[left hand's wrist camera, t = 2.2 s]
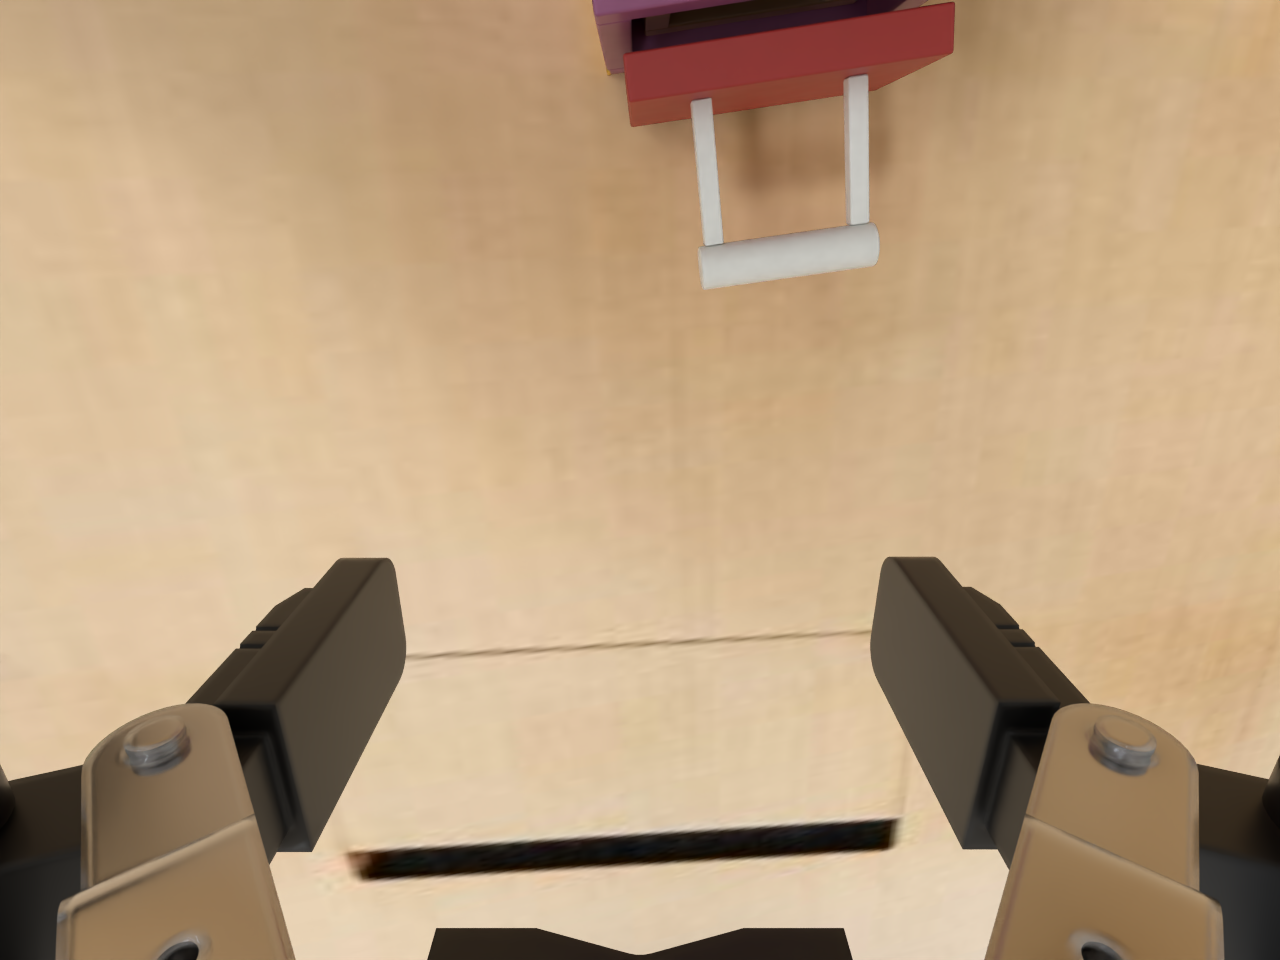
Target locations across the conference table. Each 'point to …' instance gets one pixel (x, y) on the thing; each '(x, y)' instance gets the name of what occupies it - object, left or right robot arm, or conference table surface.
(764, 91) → the drawer
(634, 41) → the cabinet
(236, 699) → the left robot arm
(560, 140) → the conference table surface
